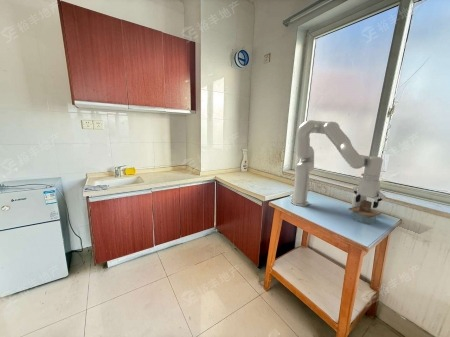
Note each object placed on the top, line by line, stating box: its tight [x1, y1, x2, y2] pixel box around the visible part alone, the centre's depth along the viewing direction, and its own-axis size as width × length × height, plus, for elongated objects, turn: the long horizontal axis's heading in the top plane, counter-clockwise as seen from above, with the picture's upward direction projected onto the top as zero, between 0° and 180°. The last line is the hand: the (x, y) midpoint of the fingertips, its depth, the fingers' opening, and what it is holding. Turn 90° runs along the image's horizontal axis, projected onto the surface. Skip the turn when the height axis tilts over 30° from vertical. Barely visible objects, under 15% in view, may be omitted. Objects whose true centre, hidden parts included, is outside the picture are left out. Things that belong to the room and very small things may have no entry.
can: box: [350, 193, 368, 208], centre depth 128 cm, size 8×8×12 cm
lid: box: [347, 200, 382, 218], centre depth 115 cm, size 12×12×7 cm
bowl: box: [351, 211, 378, 225], centre depth 116 cm, size 11×11×5 cm
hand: (365, 204), depth 115 cm, fingers open, 9 cm apart
